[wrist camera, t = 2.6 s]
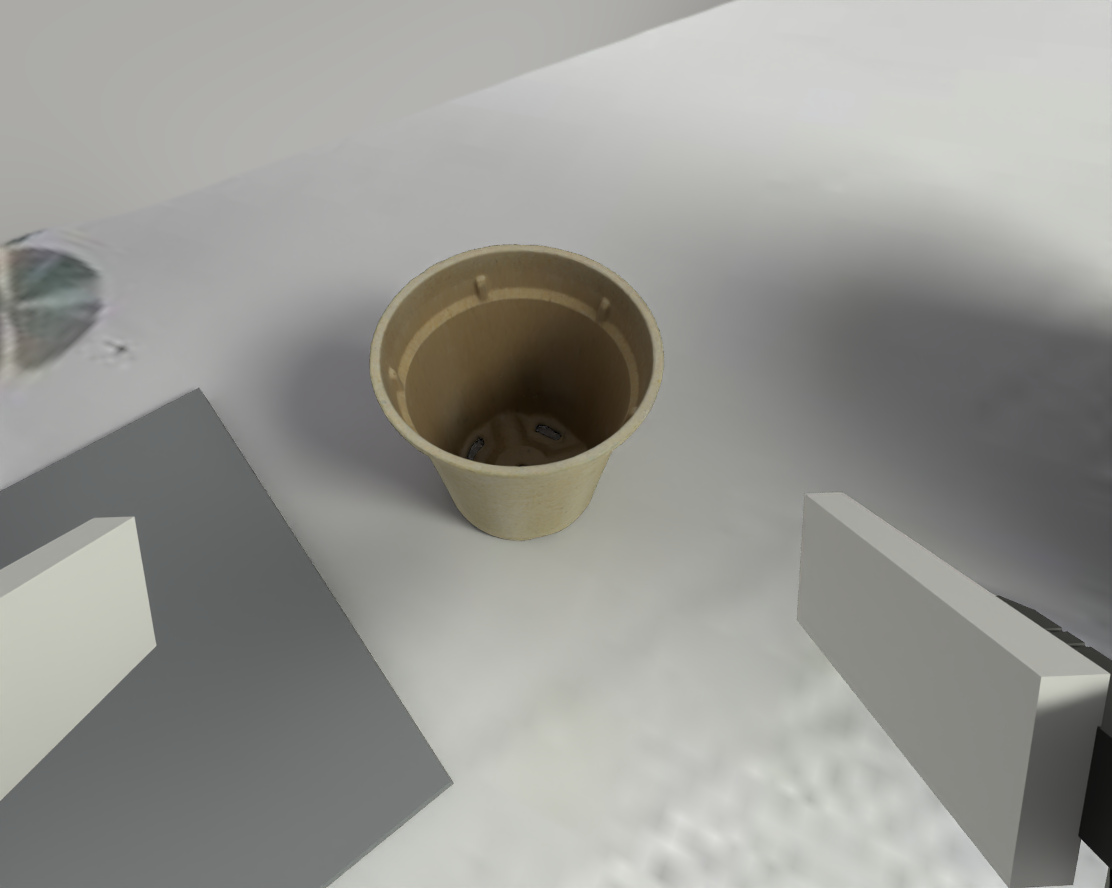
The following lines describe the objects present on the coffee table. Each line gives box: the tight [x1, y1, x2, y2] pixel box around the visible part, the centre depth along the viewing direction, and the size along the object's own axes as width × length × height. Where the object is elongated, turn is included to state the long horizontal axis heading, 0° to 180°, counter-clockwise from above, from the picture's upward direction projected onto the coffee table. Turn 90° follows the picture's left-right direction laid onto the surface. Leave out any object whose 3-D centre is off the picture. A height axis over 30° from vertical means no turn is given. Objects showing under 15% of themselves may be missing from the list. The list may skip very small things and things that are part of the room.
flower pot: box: [369, 244, 664, 541], centre depth 26 cm, size 9×9×9 cm
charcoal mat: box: [0, 388, 453, 888], centre depth 25 cm, size 20×16×1 cm
